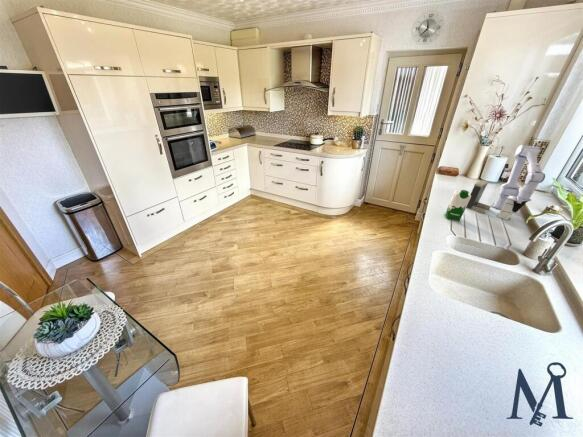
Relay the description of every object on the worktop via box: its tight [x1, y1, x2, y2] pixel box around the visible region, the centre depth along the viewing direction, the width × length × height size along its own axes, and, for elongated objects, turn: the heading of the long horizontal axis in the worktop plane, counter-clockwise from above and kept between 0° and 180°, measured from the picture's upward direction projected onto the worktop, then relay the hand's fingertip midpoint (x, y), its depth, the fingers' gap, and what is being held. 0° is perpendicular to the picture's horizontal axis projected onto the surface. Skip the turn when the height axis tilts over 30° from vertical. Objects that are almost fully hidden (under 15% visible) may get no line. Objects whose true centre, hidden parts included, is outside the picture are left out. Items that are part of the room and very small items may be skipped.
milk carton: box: [445, 189, 471, 222], centre depth 150 cm, size 9×9×20 cm
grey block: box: [466, 179, 492, 214], centre depth 165 cm, size 14×12×18 cm
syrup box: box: [497, 196, 518, 221], centre depth 155 cm, size 6×6×14 cm
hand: (515, 210), depth 153 cm, fingers open, 7 cm apart
